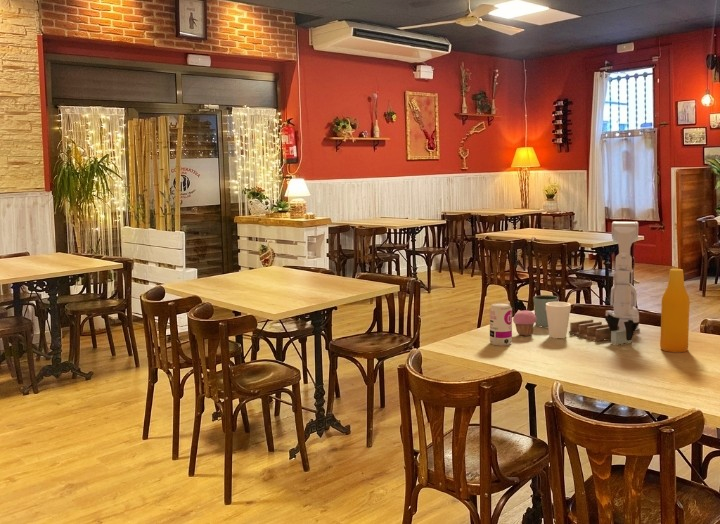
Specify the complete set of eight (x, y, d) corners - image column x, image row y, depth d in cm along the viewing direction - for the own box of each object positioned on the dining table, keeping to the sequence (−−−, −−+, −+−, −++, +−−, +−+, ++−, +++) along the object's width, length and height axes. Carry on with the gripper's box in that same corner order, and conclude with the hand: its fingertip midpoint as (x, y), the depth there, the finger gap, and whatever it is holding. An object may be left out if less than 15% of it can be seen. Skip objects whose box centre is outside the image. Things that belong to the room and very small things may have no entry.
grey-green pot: (560, 327, 297) (561, 299, 295) (536, 328, 297) (536, 299, 295) (554, 322, 307) (554, 294, 305) (530, 322, 307) (530, 295, 305)
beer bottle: (655, 350, 259) (658, 270, 255) (665, 344, 265) (668, 266, 261) (682, 354, 252) (685, 272, 248) (691, 348, 259) (694, 268, 255)
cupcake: (539, 334, 286) (540, 309, 285) (529, 338, 280) (529, 313, 278) (519, 331, 292) (519, 307, 291) (509, 335, 286) (509, 310, 284)
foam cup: (568, 333, 286) (568, 301, 284) (572, 339, 277) (573, 306, 275) (543, 334, 287) (543, 301, 285) (547, 339, 278) (547, 306, 276)
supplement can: (515, 342, 274) (516, 304, 272) (504, 347, 268) (504, 307, 266) (497, 339, 279) (497, 301, 277) (485, 344, 274) (485, 305, 272)
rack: (592, 330, 291) (592, 319, 291) (620, 337, 278) (620, 326, 277) (568, 333, 286) (569, 322, 286) (596, 341, 273) (596, 330, 272)
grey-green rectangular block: (626, 341, 272) (627, 328, 272) (631, 342, 270) (632, 329, 269) (610, 344, 269) (611, 331, 268) (615, 345, 267) (616, 332, 266)
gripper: (599, 300, 272) (599, 335, 274) (629, 306, 259) (628, 343, 261) (613, 298, 275) (613, 333, 277) (643, 304, 262) (642, 340, 264)
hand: (621, 337), depth 269 cm, fingers open, 7 cm apart
